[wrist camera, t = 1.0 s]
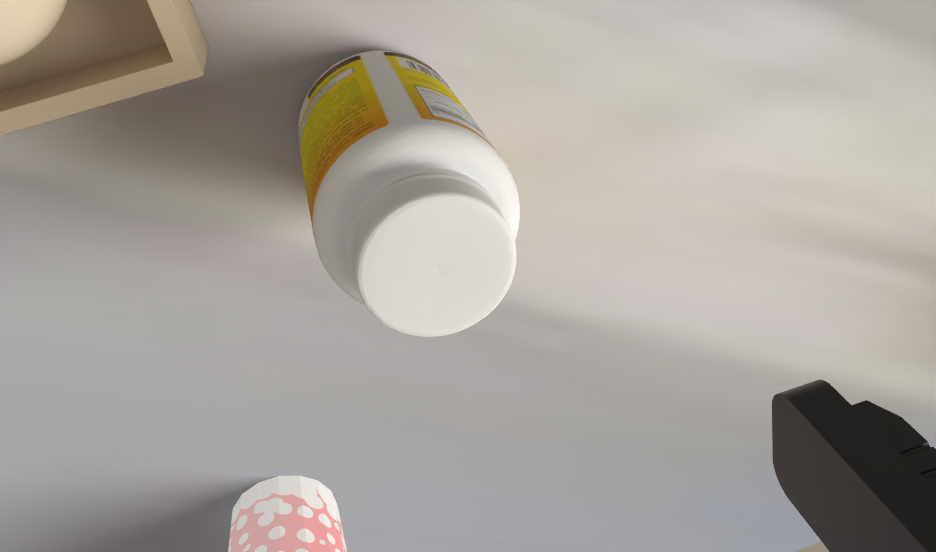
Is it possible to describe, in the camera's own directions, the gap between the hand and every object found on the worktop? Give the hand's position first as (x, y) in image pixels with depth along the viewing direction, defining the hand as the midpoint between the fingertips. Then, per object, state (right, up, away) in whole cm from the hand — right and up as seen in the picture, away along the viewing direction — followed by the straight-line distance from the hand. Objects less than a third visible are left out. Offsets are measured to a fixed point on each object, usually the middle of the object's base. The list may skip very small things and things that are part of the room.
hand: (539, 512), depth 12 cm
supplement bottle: (-4, +9, +15) cm, 18 cm away
